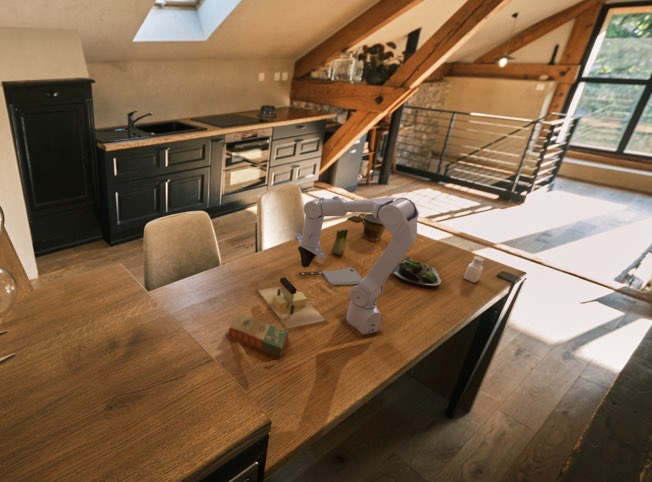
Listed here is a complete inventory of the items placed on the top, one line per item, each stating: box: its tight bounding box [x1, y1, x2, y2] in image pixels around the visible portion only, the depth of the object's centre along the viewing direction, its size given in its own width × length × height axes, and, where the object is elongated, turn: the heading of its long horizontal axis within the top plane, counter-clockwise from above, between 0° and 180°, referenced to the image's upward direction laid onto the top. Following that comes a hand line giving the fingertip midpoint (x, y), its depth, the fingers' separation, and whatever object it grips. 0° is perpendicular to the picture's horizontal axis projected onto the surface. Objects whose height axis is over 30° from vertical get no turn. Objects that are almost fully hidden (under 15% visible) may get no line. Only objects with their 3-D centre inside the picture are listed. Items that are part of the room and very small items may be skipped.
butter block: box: [284, 291, 308, 309], centre depth 130 cm, size 4×7×3 cm, turn 107°
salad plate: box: [391, 255, 442, 289], centre depth 151 cm, size 19×18×5 cm
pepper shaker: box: [463, 255, 485, 284], centre depth 146 cm, size 4×4×10 cm
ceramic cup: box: [358, 213, 386, 242], centre depth 177 cm, size 13×10×10 cm
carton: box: [227, 312, 289, 358], centre depth 115 cm, size 8×16×4 cm, turn 61°
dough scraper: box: [279, 276, 298, 304], centre depth 127 cm, size 7×2×6 cm, turn 17°
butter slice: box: [272, 295, 287, 311], centre depth 128 cm, size 4×3×3 cm
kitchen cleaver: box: [298, 266, 364, 286], centre depth 147 cm, size 24×1×10 cm
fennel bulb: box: [330, 228, 349, 256], centre depth 161 cm, size 6×5×12 cm
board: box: [257, 285, 327, 329], centre depth 129 cm, size 20×14×4 cm
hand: (305, 266), depth 135 cm, fingers closed
